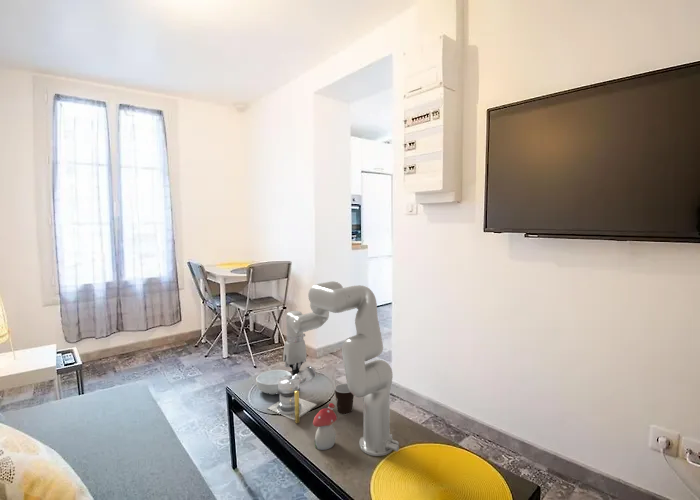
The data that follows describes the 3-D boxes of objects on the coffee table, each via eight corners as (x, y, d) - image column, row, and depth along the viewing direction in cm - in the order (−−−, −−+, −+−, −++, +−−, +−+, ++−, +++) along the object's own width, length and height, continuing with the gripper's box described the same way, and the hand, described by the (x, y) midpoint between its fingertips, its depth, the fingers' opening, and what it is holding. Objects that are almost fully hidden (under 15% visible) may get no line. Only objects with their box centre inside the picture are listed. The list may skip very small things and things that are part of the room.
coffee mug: (353, 416, 153) (352, 393, 152) (333, 414, 154) (332, 392, 153) (357, 402, 164) (356, 381, 163) (338, 400, 165) (337, 379, 165)
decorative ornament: (334, 437, 139) (333, 399, 137) (340, 447, 133) (340, 408, 131) (310, 443, 135) (310, 404, 134) (315, 453, 129) (315, 413, 128)
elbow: (289, 398, 151) (289, 385, 151) (273, 392, 156) (272, 380, 156) (318, 380, 168) (318, 368, 167) (303, 375, 173) (303, 364, 172)
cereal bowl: (298, 385, 181) (297, 371, 180) (282, 401, 165) (281, 386, 165) (267, 380, 186) (267, 367, 186) (249, 396, 171) (249, 381, 170)
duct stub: (297, 425, 147) (296, 392, 145) (264, 411, 157) (263, 381, 156) (321, 407, 160) (321, 377, 159) (289, 395, 170) (289, 368, 169)
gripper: (304, 332, 175) (305, 369, 177) (276, 339, 166) (277, 378, 168) (313, 337, 169) (313, 374, 171) (284, 344, 160) (285, 384, 162)
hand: (295, 376), depth 169 cm, fingers closed
